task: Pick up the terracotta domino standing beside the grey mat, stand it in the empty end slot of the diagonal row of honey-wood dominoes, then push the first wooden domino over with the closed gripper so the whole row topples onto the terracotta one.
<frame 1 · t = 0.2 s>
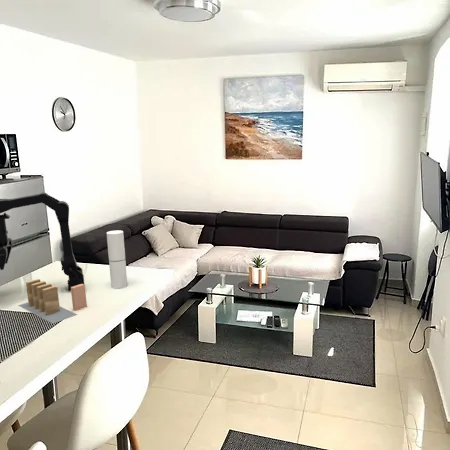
hand: (4, 266, 182), 15 cm above the table, fingers open, 9 cm apart
domino 1: (36, 304, 177), point 1 cm above the table, touching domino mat
terracotta domino: (80, 310, 172), on the table
domino 2: (41, 307, 174), point 1 cm above the table, touching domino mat
domino 4: (52, 312, 168), point 1 cm above the table, touching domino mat
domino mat: (47, 311, 171), on the table
cylindrical container: (119, 286, 198), on the table
domino 3: (46, 309, 171), point 1 cm above the table, touching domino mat
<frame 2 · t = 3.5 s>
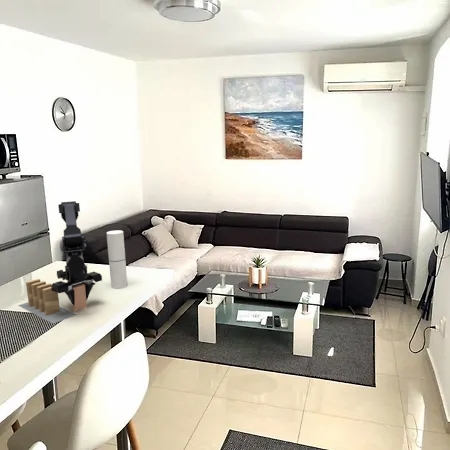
hand: (79, 302, 171), 3 cm above the table, fingers closed on terracotta domino, 5 cm apart
terracotta domino: (80, 310, 172), on the table, touching gripper
everything else where it was.
when the fingers open (5 cm above the table, at t = 8.1 s): terracotta domino stays where it is, resting on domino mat.
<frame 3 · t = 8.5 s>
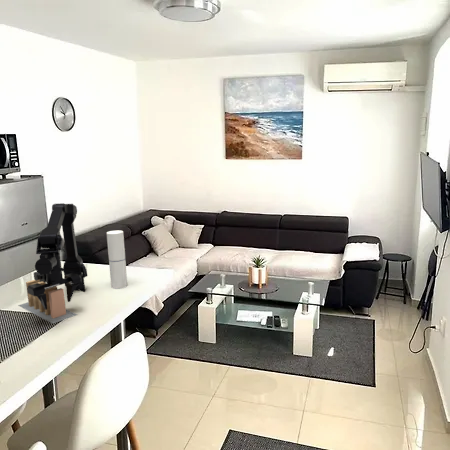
hand: (57, 305, 164), 5 cm above the table, fingers open, 9 cm apart
terracotta domino: (58, 315, 165), point 1 cm above the table, touching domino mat
everything else where it was.
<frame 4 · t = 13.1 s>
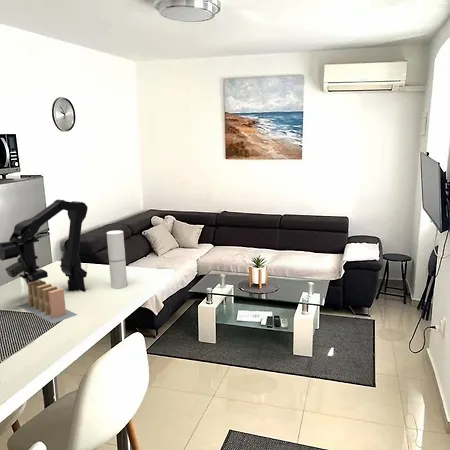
hand: (32, 291, 177), 6 cm above the table, fingers closed
domino 1: (36, 304, 177), point 1 cm above the table, tilted 10°, touching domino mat, gripper
everything else where it was.
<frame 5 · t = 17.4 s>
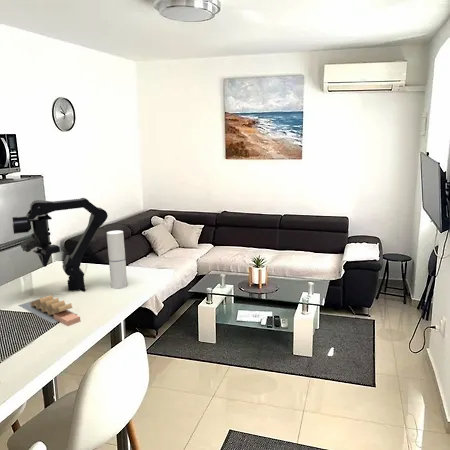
hand: (44, 266, 186), 13 cm above the table, fingers closed
domino 1: (37, 303, 176), point 2 cm above the table, tilted 67°, touching domino 2, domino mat
terracotta domino: (60, 314, 164), point 2 cm above the table, tilted 90°, touching domino 4, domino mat
domino 2: (42, 305, 173), point 2 cm above the table, tilted 67°, touching domino 1, domino 3
domino 4: (53, 311, 167), point 2 cm above the table, tilted 67°, touching domino 3, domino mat, terracotta domino
domino 3: (47, 308, 170), point 2 cm above the table, tilted 67°, touching domino 2, domino 4, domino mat
everything else where it was.
at the end: terracotta domino inside the target area on the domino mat (0.6 cm from its centre), point 1.7 cm above the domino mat's base; terracotta domino tilted 90°; domino 1 tilted 67° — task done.
